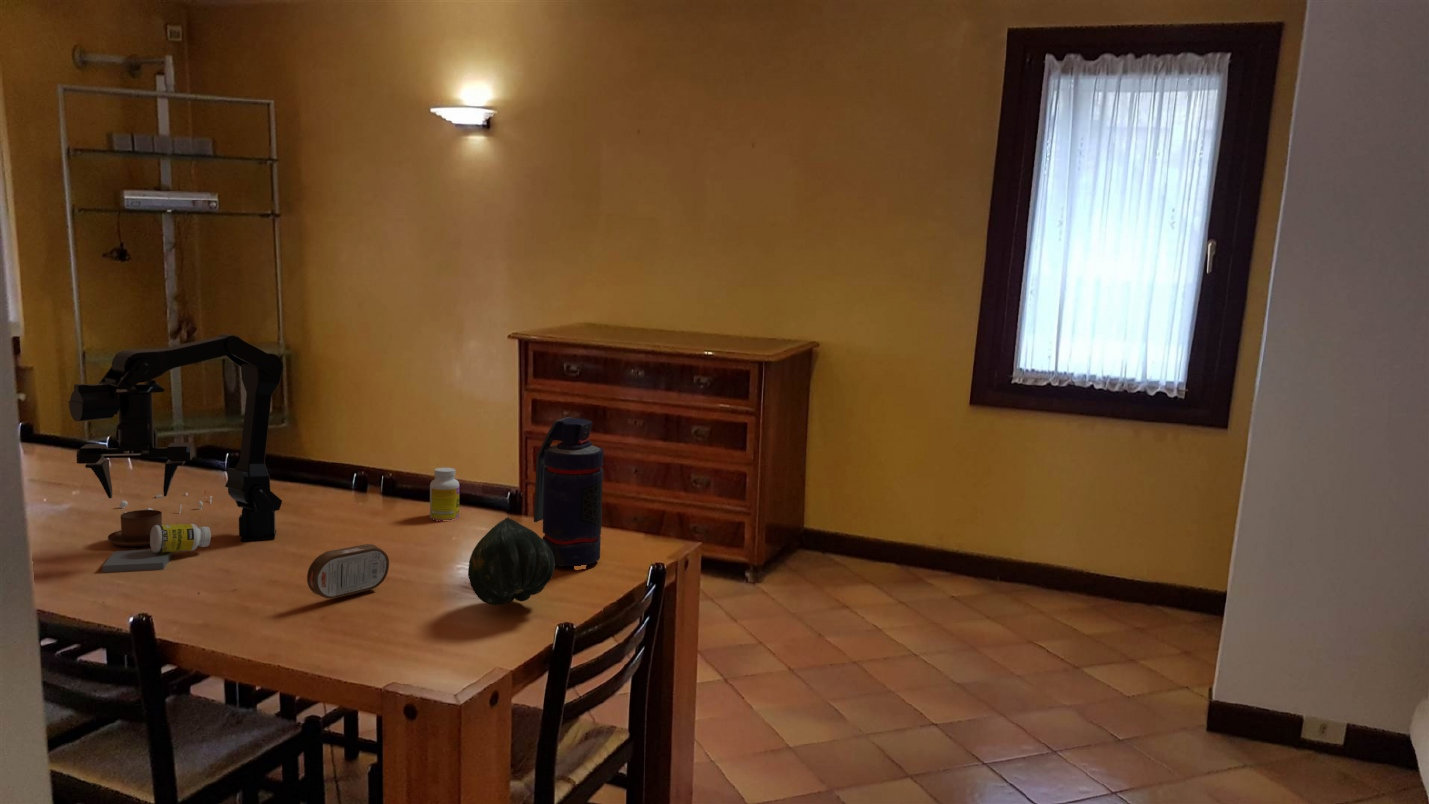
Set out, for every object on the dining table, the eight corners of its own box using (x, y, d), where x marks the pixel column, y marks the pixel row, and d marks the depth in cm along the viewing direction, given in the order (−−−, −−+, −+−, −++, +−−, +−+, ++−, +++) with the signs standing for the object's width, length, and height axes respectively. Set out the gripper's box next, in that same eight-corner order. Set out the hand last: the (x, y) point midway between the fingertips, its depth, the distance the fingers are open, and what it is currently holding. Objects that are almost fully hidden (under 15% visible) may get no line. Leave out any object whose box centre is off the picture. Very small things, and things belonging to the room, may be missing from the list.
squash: (453, 602, 173) (454, 520, 171) (524, 586, 183) (526, 509, 181) (496, 624, 163) (498, 538, 161) (569, 606, 173) (571, 525, 171)
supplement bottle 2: (460, 526, 225) (461, 471, 223) (431, 527, 222) (431, 472, 221) (457, 519, 231) (457, 466, 229) (428, 520, 228) (428, 467, 227)
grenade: (608, 559, 204) (613, 418, 200) (586, 574, 192) (590, 426, 189) (548, 551, 207) (552, 413, 204) (523, 566, 196) (526, 420, 192)
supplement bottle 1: (158, 527, 186) (212, 524, 194) (149, 523, 190) (203, 521, 197) (157, 555, 186) (211, 551, 193) (148, 551, 190) (202, 547, 197)
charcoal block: (172, 558, 193) (172, 548, 193) (163, 572, 184) (163, 562, 184) (115, 561, 190) (114, 551, 189) (102, 576, 180) (102, 565, 180)
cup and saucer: (114, 537, 204) (113, 508, 203) (178, 533, 208) (178, 506, 208) (102, 552, 193) (101, 522, 192) (170, 549, 197) (170, 519, 197)
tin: (382, 582, 182) (382, 539, 181) (391, 586, 180) (392, 542, 179) (305, 600, 171) (305, 554, 170) (315, 604, 169) (314, 558, 168)
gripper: (196, 410, 195) (198, 486, 197) (88, 411, 188) (91, 489, 190) (188, 418, 184) (190, 498, 186) (74, 419, 178) (77, 502, 180)
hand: (138, 496), depth 186 cm, fingers open, 9 cm apart
